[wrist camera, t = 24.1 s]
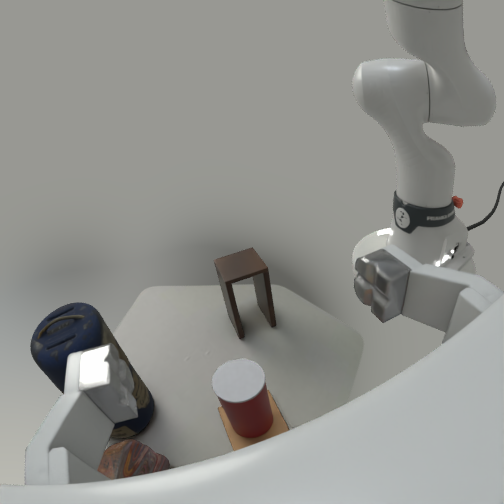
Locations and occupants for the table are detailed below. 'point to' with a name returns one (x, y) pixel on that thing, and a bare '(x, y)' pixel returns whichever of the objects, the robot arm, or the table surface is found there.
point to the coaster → (242, 442)
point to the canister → (78, 339)
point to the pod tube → (244, 396)
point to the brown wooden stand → (239, 269)
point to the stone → (131, 460)
